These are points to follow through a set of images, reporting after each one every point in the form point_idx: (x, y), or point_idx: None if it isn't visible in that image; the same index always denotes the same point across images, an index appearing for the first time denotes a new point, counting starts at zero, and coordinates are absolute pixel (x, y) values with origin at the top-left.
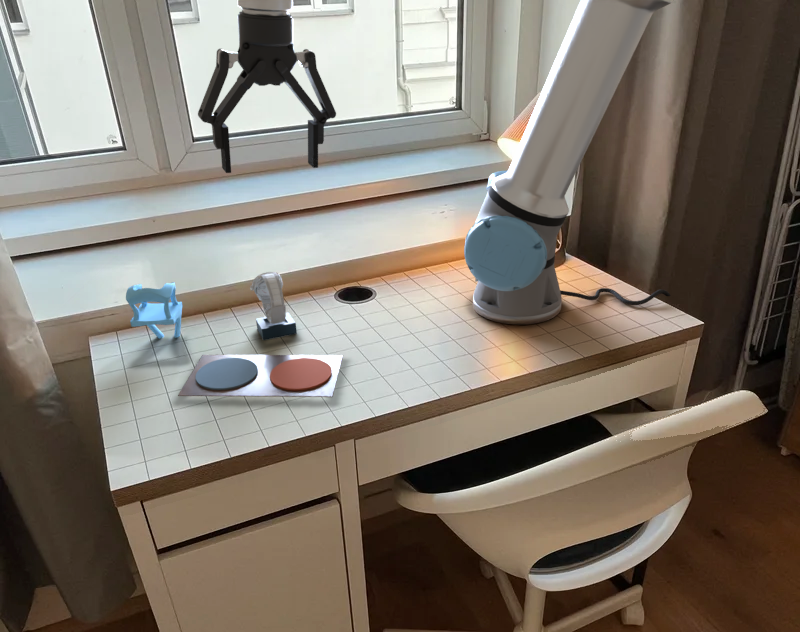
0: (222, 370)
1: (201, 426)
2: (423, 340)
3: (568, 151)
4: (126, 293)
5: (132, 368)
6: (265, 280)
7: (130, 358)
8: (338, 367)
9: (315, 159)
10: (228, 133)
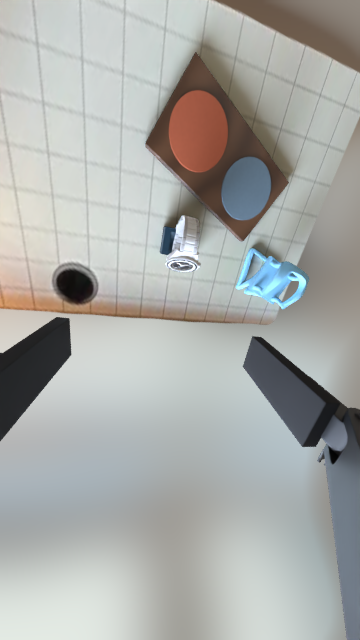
0: (247, 197)
1: (293, 127)
2: (40, 123)
3: None
4: (305, 289)
5: None
6: (198, 236)
7: None
8: (161, 117)
9: (53, 325)
10: (310, 389)
